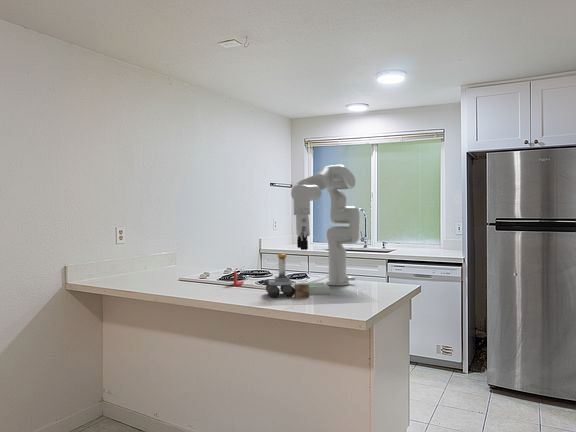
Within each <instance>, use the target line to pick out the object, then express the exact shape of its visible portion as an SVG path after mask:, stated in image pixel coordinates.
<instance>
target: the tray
mask: <svg viewBox="0 0 576 432" xmlns="http://www.w3.org/2000/svg"><path fill="white" fill-rule="evenodd" d="M295 283H296V282H292V287H293V288H294V289H295ZM307 283H308V284H309V295H326V294H330V285H327V284H326V282H323V281H322V282H307Z"/></svg>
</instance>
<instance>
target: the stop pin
mask: <svg viewBox="0 0 576 432" xmlns="http://www.w3.org/2000/svg"><path fill="white" fill-rule="evenodd" d="M277 258H278V277H279V278H286V258H287V254H286V253H277Z"/></svg>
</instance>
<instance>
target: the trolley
mask: <svg viewBox="0 0 576 432" xmlns="http://www.w3.org/2000/svg"><path fill="white" fill-rule="evenodd" d="M285 276H286V275H285ZM278 286H280V288H279V287H278ZM265 291H266V292H267V294H268V296H269V297H270V298H272V299H275V298H277V297H279V295H280V293H281V292H282V294H283V296H285V297H286V298H292V297H294V296H295V289H294V288H293V281H292V280H291V278H290V276H288V275H287V276H286V278H279V276H274V279H268V283H267V284H266V286H265Z"/></svg>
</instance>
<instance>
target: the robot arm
mask: <svg viewBox="0 0 576 432" xmlns="http://www.w3.org/2000/svg"><path fill="white" fill-rule="evenodd" d="M355 185H356V178H355V175H354V174H353V172H352V171H351V170H350V169H349V168H347V167H346V165H343V164H335V165H326V166H323V167H321V169H319V171H317V172H316V173H315V174H314V175H311V176H308V177H306V178H304V179H300V180H299V181H298V182H296V183H295V184H294V186H292V189H291V193H290V195H291V198H292V199H293V216H295V231H296V236H297V237H296V238H297V246H296V247H297V248H298V249H300V250H301V251H303V250H304V251H307V250H309V243H308V242H309V241H308V237H309V236H310V235H311V233H310V218H309V216H310V215H311V204H310V202H314V201H317V200H319V199H320V198H321V196H322V190H327V191H328V194H329V197H330V213H329V214H330V216H329V217H330V221H331V223H333V224H336V225H335V226H334V225H333V226H330V227H329V228H328V229H327V231H326V241H327V247H328V248H327V249H328V280H327V281H325V284H327V285H328V286H347V285H350V281H356V277H355V276H348V275H347V251H346V249H345V247H344V245H354V244H355V245H356V244H357V242H359V238H360V211H359V209H358V208H357V207H356V206H353V205H352V206H347V196H346V194H345V193H344V192H343V190H352V189H353V188H354V187H356V186H355ZM338 224H339V225H338ZM337 225H338V226H337ZM343 225H344V226H343ZM345 225H348V226H345Z"/></svg>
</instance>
